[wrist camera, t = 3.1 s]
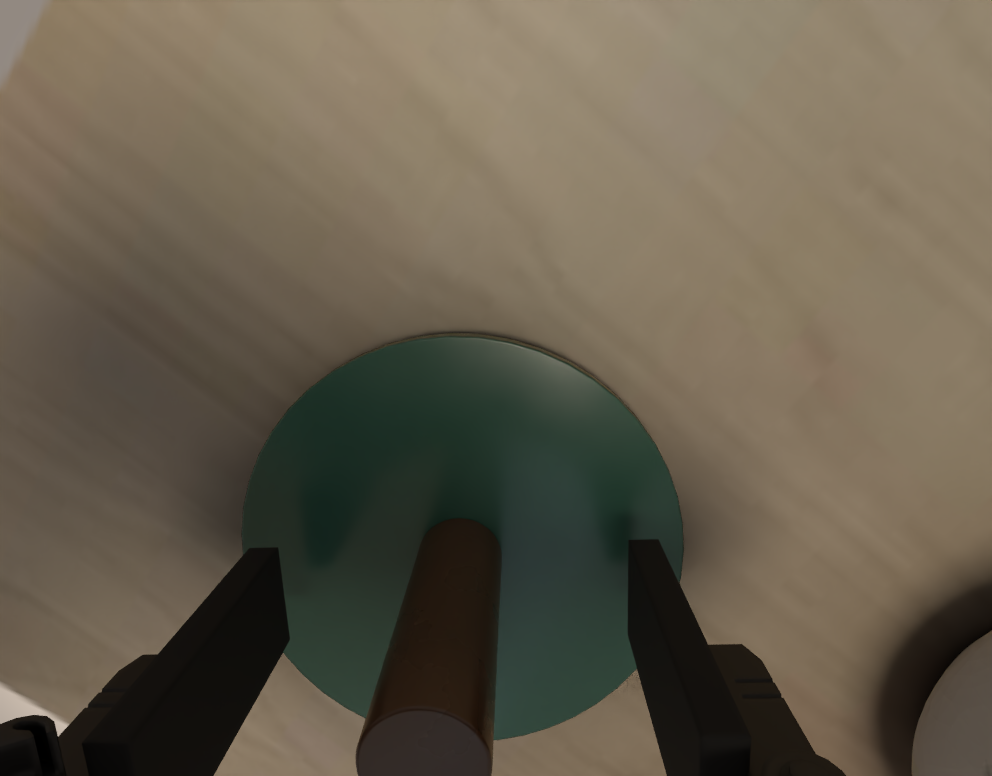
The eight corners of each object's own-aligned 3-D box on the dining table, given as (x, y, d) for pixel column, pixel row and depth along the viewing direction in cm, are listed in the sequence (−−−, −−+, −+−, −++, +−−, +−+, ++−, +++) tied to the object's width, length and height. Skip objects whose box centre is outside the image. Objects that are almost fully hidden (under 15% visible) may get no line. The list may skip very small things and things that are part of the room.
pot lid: (196, 609, 20) (-32, 874, 12) (363, 249, 18) (220, 259, 9) (546, 773, 21) (565, 1123, 13) (756, 456, 19) (958, 640, 10)
